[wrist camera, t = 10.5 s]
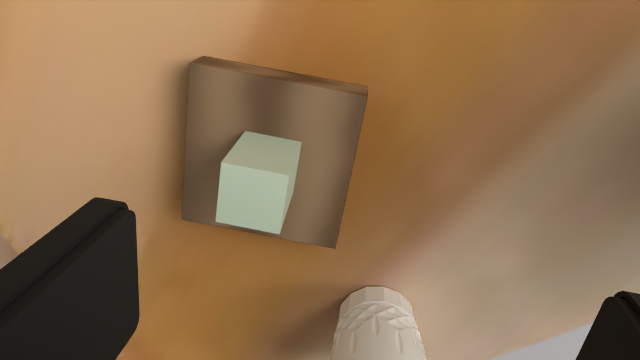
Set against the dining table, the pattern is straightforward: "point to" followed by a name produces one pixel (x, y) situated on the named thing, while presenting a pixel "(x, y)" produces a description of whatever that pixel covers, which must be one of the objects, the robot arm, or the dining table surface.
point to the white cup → (377, 327)
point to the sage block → (257, 182)
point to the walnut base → (279, 121)
